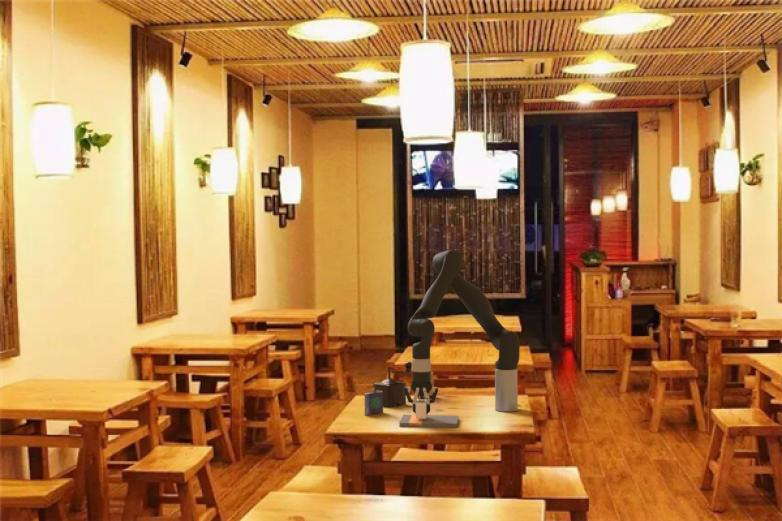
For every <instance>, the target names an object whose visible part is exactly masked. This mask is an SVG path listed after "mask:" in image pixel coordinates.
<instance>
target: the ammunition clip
mask: <svg viewBox="0 0 782 521" xmlns="http://www.w3.org/2000/svg"><path fill="white" fill-rule="evenodd" d="M431 384H432V386H433V387H436V386H435V379H434V372H433V370H431ZM428 395H429V399H430V400H431V399H432V398H433V395H434V393H433V390H432V389H431V390H430V392H429V393H428ZM417 399H425V396H422V395H421V396H418V397H417Z"/></svg>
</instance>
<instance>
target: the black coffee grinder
mask: <svg viewBox="0 0 782 521" xmlns="http://www.w3.org/2000/svg"><path fill="white" fill-rule="evenodd" d="M404 367H405V370H404V371H399V370H391V366H390V365H389V366H387V372H388V373H387V374H388V375H387V376H388V377H387V378H385V379H383V380H382V381H378V382H374V383H372V388H374V389H375V391H377V390H379V391H383V408H389V409H390V408H395V407H400V406H403V405H406V404H407V400H406V399H407V397H406V394H405V391H404V388H405V387H407V384H406V382H403V381H398V380H397V379H396V378H392V377H391V373H394V374H402V375H403V374H409V373H411V374H412V369H411V367H412V361H406V362H405V363H404Z"/></svg>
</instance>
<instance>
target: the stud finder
mask: <svg viewBox="0 0 782 521" xmlns="http://www.w3.org/2000/svg"><path fill="white" fill-rule="evenodd" d="M415 415H416V418H419V419H426V417H427V415H428V414H427V402H426V399H418V398H417V401H416V414H415Z"/></svg>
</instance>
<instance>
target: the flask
mask: <svg viewBox="0 0 782 521" xmlns="http://www.w3.org/2000/svg"><path fill="white" fill-rule="evenodd" d="M379 414H384V407H383V391H379V390H377V391H375V389H374V388H373V387H371V391H369V392H366V393H364V416H367V417H368V416H373V415H379Z"/></svg>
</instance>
